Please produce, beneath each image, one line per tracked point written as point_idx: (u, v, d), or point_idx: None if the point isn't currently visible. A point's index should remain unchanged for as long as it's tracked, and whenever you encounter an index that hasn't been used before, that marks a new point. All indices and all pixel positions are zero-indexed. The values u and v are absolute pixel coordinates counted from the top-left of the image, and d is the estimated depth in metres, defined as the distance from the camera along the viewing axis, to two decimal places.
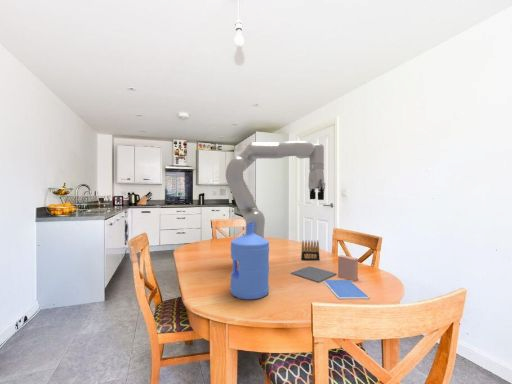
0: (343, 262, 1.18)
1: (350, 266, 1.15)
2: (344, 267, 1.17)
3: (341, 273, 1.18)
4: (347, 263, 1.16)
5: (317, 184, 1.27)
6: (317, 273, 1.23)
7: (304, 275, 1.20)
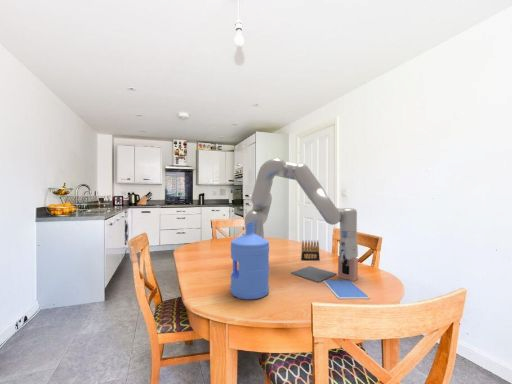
0: None
1: (350, 266, 1.15)
2: None
3: (341, 272, 1.18)
4: None
5: None
6: (317, 273, 1.23)
7: (304, 275, 1.20)
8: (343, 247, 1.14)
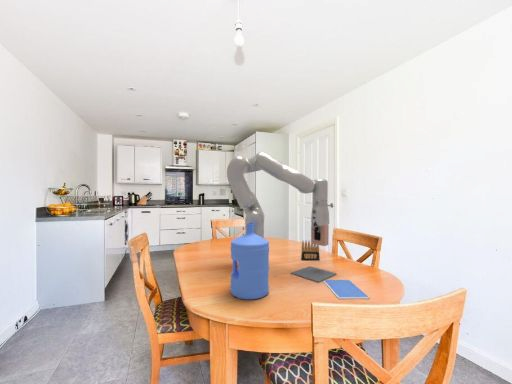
0: None
1: (321, 232, 1.24)
2: None
3: (314, 239, 1.27)
4: None
5: None
6: (317, 273, 1.23)
7: (304, 275, 1.20)
8: (314, 214, 1.23)
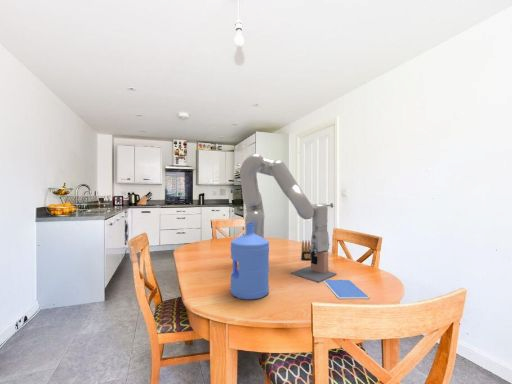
0: None
1: (321, 259, 1.24)
2: None
3: (313, 266, 1.27)
4: (318, 257, 1.25)
5: None
6: (317, 273, 1.23)
7: (304, 275, 1.20)
8: (314, 240, 1.23)
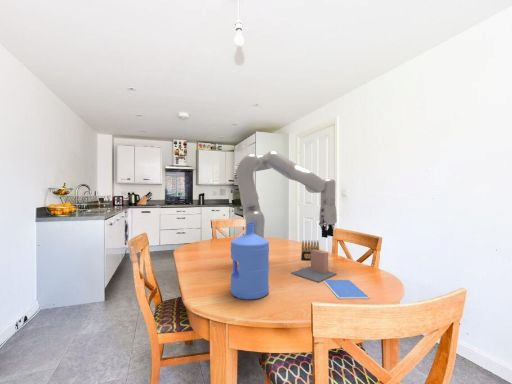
0: (315, 256, 1.26)
1: (321, 259, 1.24)
2: (316, 260, 1.26)
3: (313, 266, 1.27)
4: (318, 257, 1.25)
5: None
6: (317, 273, 1.23)
7: (304, 275, 1.20)
8: (323, 213, 1.28)
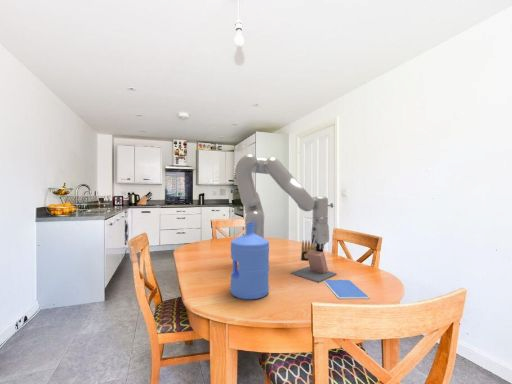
0: (311, 258, 1.24)
1: (318, 261, 1.22)
2: (313, 262, 1.24)
3: (312, 266, 1.26)
4: (315, 259, 1.23)
5: None
6: (317, 273, 1.23)
7: (304, 275, 1.20)
8: (314, 232, 1.23)
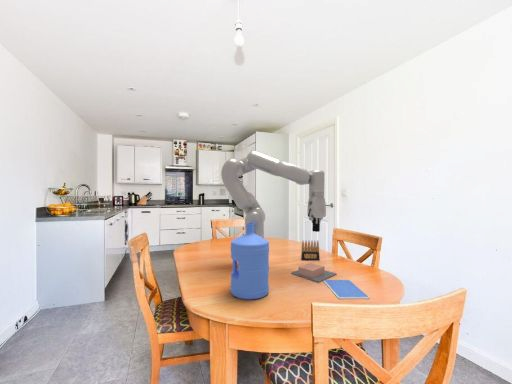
0: None
1: None
2: None
3: None
4: None
5: None
6: None
7: None
8: (311, 206, 1.21)
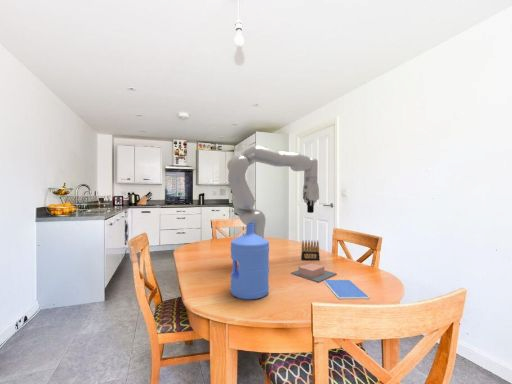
0: None
1: None
2: None
3: None
4: None
5: None
6: None
7: None
8: (305, 190, 1.38)
